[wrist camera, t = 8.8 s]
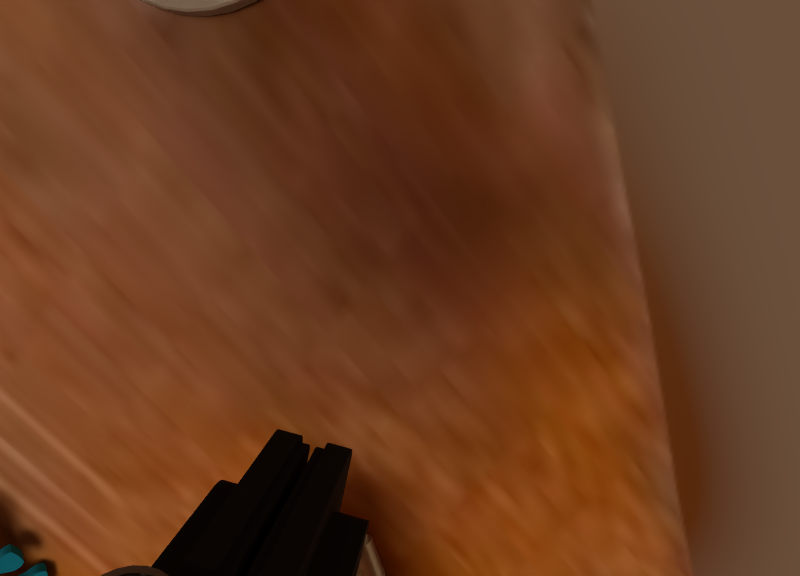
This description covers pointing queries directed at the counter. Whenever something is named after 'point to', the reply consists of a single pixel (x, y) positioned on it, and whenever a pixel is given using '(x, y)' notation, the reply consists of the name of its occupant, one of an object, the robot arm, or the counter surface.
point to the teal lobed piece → (18, 562)
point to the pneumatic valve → (370, 560)
